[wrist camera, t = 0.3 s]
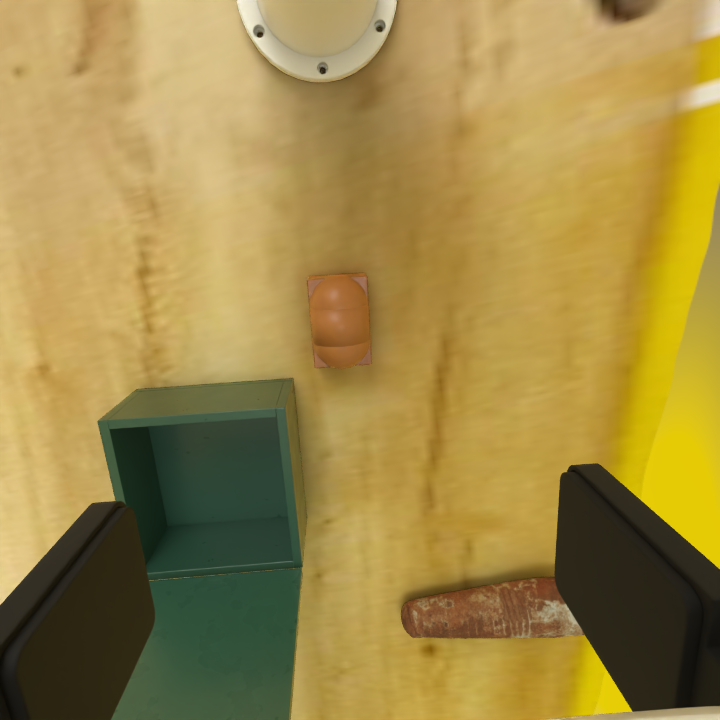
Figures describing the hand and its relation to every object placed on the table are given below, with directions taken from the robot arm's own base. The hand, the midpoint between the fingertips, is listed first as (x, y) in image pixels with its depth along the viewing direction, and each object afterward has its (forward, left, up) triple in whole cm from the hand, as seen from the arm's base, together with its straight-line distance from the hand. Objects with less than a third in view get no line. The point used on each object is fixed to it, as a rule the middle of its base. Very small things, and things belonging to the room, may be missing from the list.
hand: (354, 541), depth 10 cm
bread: (+36, +14, -36) cm, 52 cm away
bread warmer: (+15, -12, -35) cm, 40 cm away
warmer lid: (+23, -13, -19) cm, 32 cm away
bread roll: (+2, 0, -35) cm, 35 cm away
